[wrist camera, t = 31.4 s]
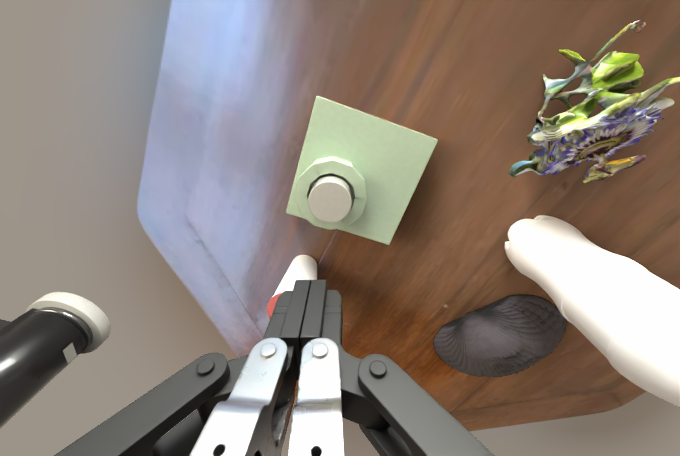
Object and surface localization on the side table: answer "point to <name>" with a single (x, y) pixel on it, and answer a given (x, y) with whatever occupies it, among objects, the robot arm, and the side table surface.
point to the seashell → (501, 336)
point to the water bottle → (605, 301)
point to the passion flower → (607, 126)
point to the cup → (294, 277)
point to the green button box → (360, 167)
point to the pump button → (330, 199)
